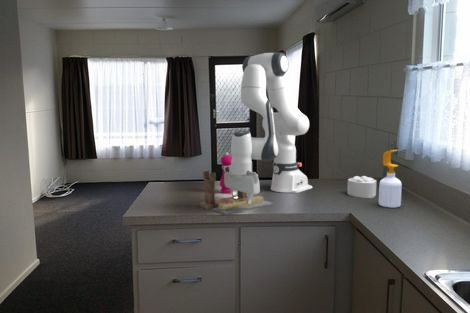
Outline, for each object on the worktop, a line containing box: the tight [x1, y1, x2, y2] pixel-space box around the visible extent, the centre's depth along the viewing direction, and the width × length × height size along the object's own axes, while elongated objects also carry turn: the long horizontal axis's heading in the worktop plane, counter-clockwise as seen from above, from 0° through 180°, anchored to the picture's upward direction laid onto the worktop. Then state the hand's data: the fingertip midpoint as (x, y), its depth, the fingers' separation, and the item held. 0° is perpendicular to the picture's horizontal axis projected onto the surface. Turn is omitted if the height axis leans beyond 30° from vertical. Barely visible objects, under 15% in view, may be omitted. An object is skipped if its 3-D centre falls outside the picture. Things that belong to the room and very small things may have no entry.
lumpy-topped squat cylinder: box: [346, 175, 377, 199], centre depth 209 cm, size 10×13×9 cm
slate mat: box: [212, 199, 274, 216], centre depth 187 cm, size 26×9×1 cm, turn 128°
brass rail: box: [219, 195, 264, 211], centre depth 186 cm, size 22×3×2 cm, turn 128°
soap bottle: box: [378, 149, 403, 209], centre depth 188 cm, size 9×9×25 cm
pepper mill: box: [219, 151, 232, 195], centre depth 215 cm, size 7×7×20 cm
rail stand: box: [198, 170, 248, 210], centre depth 194 cm, size 25×7×15 cm, turn 128°
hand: (241, 201), depth 186 cm, fingers open, 8 cm apart
